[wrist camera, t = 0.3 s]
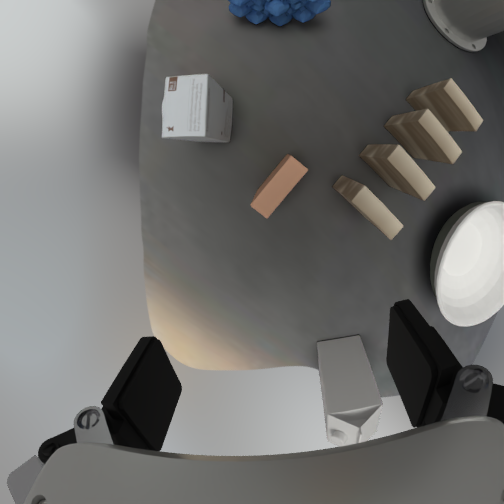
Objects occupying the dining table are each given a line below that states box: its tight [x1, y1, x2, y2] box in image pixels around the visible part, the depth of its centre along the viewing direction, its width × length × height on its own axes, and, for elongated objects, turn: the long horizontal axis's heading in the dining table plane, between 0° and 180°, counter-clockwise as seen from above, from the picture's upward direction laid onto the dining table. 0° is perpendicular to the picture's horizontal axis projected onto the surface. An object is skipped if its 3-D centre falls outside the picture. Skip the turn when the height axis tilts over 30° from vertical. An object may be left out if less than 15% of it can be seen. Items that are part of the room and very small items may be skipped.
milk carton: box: [317, 335, 383, 447], centre depth 35 cm, size 7×7×19 cm
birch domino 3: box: [359, 144, 435, 201], centre depth 28 cm, size 2×6×10 cm, turn 52°
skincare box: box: [162, 74, 233, 142], centre depth 27 cm, size 6×4×12 cm
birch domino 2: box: [384, 109, 462, 164], centre depth 26 cm, size 2×6×10 cm, turn 52°
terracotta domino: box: [250, 154, 308, 218], centre depth 30 cm, size 2×6×10 cm, turn 142°
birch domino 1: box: [406, 78, 483, 131], centre depth 25 cm, size 2×6×10 cm, turn 52°
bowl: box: [430, 201, 504, 326], centre depth 32 cm, size 19×19×8 cm
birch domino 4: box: [332, 175, 403, 240], centre depth 30 cm, size 2×6×10 cm, turn 52°
